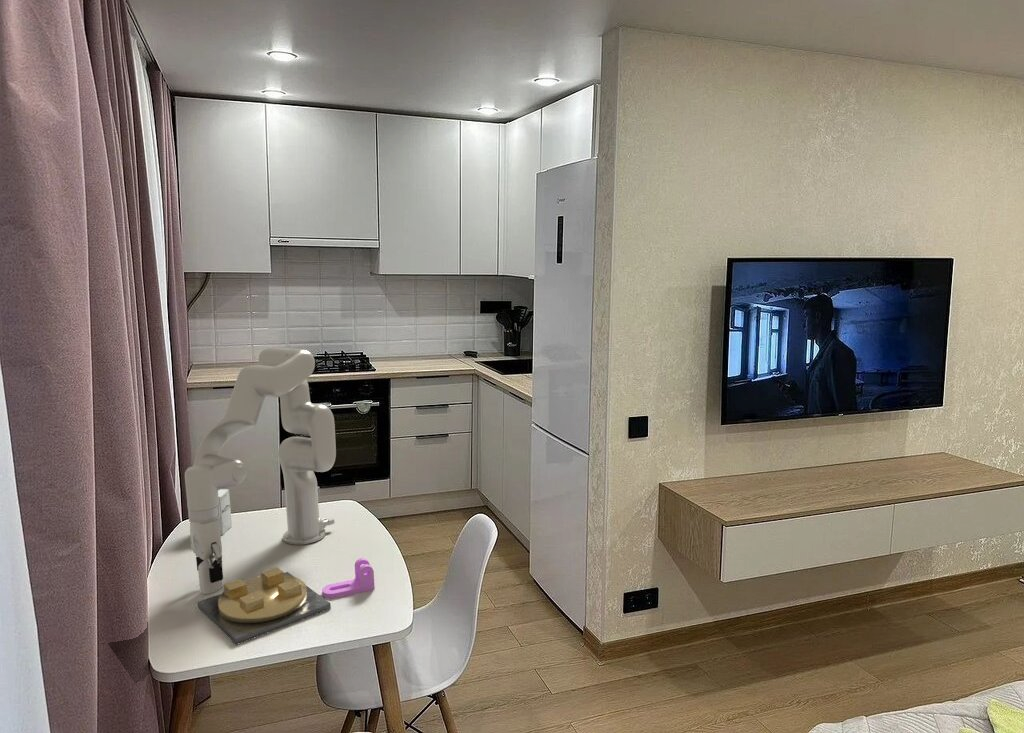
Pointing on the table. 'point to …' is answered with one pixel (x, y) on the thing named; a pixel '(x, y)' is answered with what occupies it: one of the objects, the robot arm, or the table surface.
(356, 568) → the bracket
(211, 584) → the eye dropper bottle
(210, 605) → the dark grey square slab
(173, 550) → the table surface
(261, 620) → the plate with cheese cubes
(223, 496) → the supplement box
